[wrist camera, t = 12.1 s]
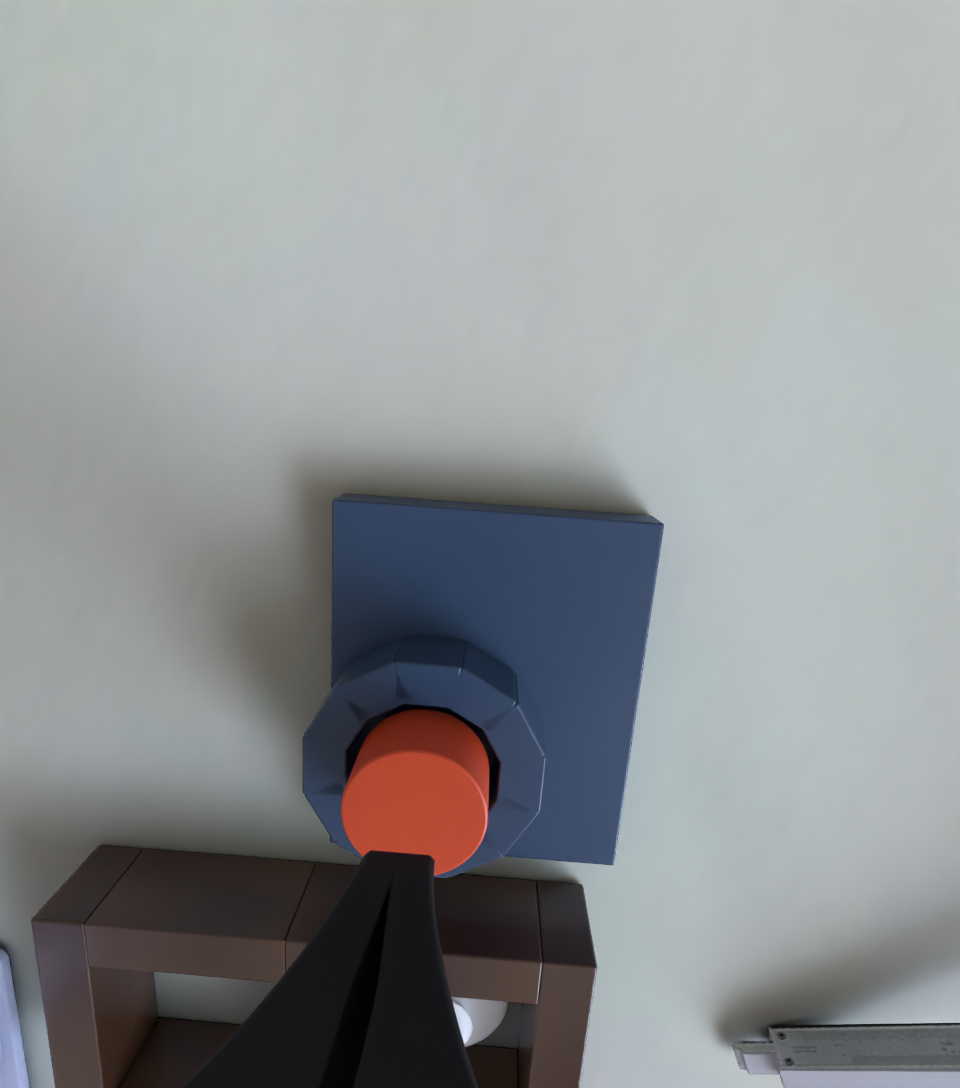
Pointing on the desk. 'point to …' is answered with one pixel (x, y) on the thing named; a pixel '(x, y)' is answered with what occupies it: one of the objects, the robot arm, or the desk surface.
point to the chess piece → (478, 1017)
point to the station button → (419, 789)
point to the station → (493, 657)
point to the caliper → (857, 1055)
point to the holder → (286, 959)
